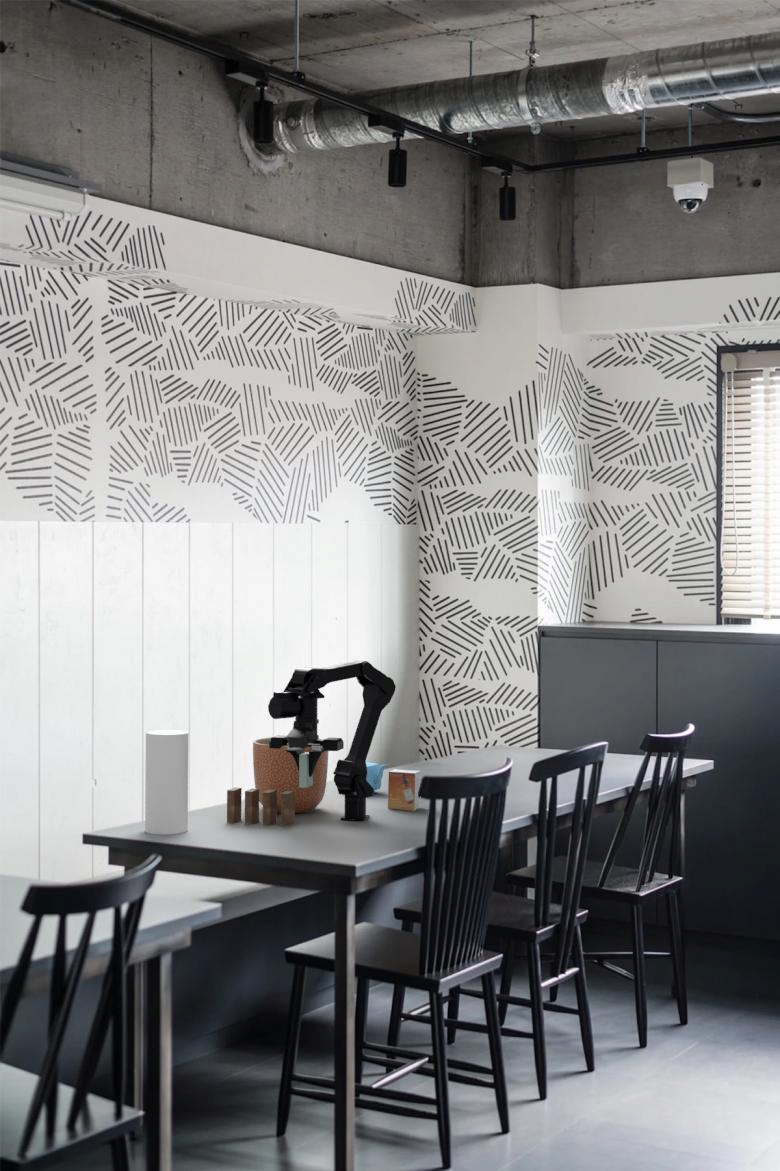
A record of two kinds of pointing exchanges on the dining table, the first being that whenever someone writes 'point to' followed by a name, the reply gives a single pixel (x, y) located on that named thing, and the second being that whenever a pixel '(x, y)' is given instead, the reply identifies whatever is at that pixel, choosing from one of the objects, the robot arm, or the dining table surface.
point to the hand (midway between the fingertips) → (306, 776)
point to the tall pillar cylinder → (166, 782)
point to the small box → (403, 789)
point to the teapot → (374, 775)
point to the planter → (287, 775)
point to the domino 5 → (304, 771)
